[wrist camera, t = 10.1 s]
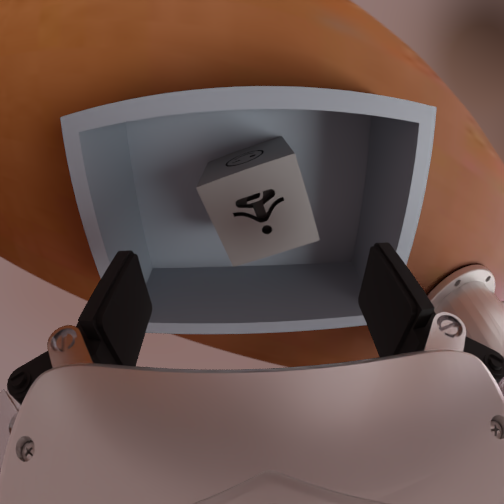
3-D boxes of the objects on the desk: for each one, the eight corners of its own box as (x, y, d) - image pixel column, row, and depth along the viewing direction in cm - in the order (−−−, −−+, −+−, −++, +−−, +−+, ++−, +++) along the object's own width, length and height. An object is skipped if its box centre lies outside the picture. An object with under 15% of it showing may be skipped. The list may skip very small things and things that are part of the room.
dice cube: (281, 136, 17) (294, 153, 13) (303, 203, 20) (319, 240, 15) (208, 162, 18) (195, 188, 14) (235, 225, 20) (233, 267, 16)
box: (378, 96, 16) (436, 107, 10) (357, 264, 24) (386, 322, 18) (116, 103, 16) (60, 117, 10) (147, 271, 24) (122, 331, 18)
